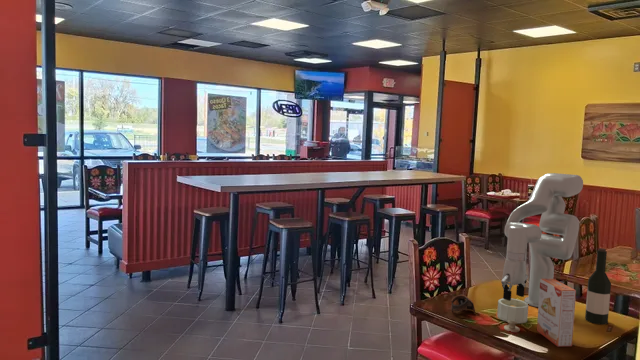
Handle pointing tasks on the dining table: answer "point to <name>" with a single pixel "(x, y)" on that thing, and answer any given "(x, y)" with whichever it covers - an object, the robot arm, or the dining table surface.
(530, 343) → the dining table surface
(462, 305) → the pottery mug
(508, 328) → the ball stand
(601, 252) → the wine bottle
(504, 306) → the pale green bowl
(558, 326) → the cracker box
